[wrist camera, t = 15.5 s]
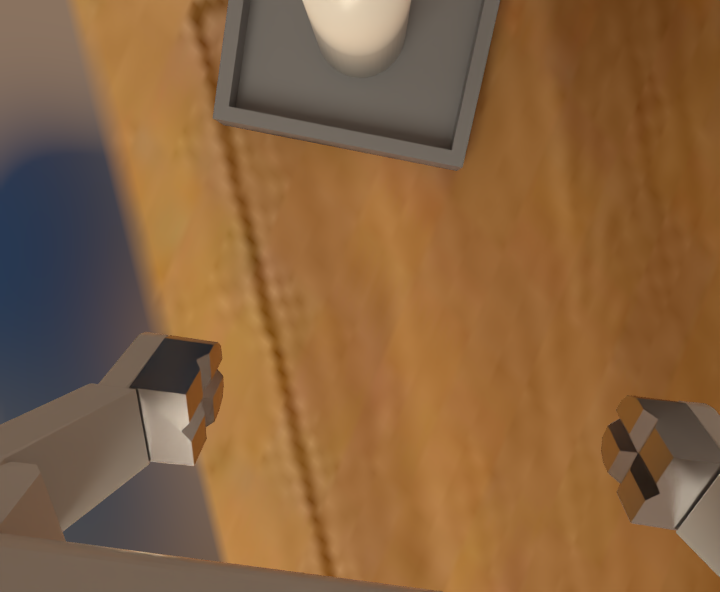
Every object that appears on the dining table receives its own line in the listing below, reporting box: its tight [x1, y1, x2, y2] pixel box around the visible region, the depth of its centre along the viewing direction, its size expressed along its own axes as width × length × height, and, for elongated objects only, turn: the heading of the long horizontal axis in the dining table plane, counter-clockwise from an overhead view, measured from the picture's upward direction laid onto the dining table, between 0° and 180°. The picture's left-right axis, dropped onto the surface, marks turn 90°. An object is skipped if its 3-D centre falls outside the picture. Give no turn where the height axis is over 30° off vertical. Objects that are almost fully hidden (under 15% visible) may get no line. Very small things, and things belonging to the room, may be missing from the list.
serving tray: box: [213, 0, 500, 171], centre depth 33 cm, size 18×16×2 cm
